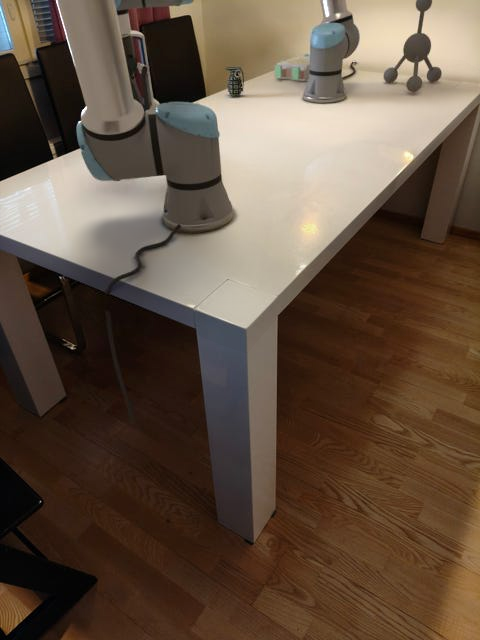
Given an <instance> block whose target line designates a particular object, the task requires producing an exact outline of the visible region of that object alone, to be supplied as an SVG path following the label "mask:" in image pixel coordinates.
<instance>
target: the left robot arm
mask: <svg viewBox="0 0 480 640" xmlns="http://www.w3.org/2000/svg"><path fill="white" fill-rule="evenodd" d="M55 1H56V5H57V8H58V12H59V16H60V19H61V23H62V26H63V30H64V34H65V37H66V40H67V44H68V48H69V51H70V54H71V58H72V61H73V65H74V68H75V72H76V75H77V79H78V83H79V86H80V89H81V93H82V97H83V101H84V104H85V107H84V109H82V111H81V114H80V120H79V121H78V122H77V124H76V137H77V143H78V146H79V148H80V154H81V157H82V159H83V162H84V164H85V166H86V168H87V170H88V171H89V173H90V175H91V176H92V177H93V178H94V179H96V180H98V181H101V182H121V181H123V180H135V179H142V178H152V177H160V176H161V177H163V176H165V180H166V190H165V191H166V192H165V196H164V203H163V207H162V218H163V222H164V224H165V226H167V227H168V228H169V229H171V230H172V231H171V232H170V234H169V235H168V236H167V237H166V238H165V239H164V240H162V241H159V242H156V243H152V244H149V245H145V246H142V247H140V248H139V249H137V251H136V252H135V255H134V259H135V262H136V263H137V265H136V268H134V269H133V270H131V271H127V272H126V273H122V274H120V275H117V276H116V277H114V279H112V280H111V281H110V282H109V284H108V285H107V287H106V290H105V292H104V294H105V295H108V294H110V292H111V290H112V288H113V287H114V285H116V283H118V282H119V281H121V280H124V279H126V278H129V277H131V276H133V275H136V274H138V273H139V272H140V270H141V269H142V260H141V258H140V255H141V254H142V253H143V252H145V251H148V250H151V249H154V248H159V247H162V246H165V245H166V244H168V243H169V242H170V241H171V240H172V239H173V238H174V235H176V233H177V232H180V233H190V234H191V233H192V234H193V233H194V234H195V233H196V234H197V233H205V232H206V233H207V232H210V231H215V230H216V229H220V228H222V227H224V226H226V225H227V224H228V223H230V221H231V220H232V218H233V216H234V212H233V211H234V210H233V204H232V201H231V200H230V197H229V195H228V192H227V190H226V187H225V184H224V182H223V175H222V174H223V173H222V164H221V150H220V139H219V138H220V136H221V135H220V130H219V125H218V118H217V115H216V113H215V111H214V110H213V109H212V108H210V107H209V106H206V105H203V104H199V103H196V102H189V101H168V102H163V103H159V104H160V105H158V106H157V108H156V111H155V112H156V114H149V115H146V110H149V109H150V108H151V107H152V101H151V94H150V86H149V78H148V73H149V72H150V65H149V63H148V64H146V65H144V64H142V62H139V60H138V59H137V56H136V51H135V46H134V39H132V37H131V36H130V35H129V34H130V33H131V30H132V28H131V27H132V26H131V21H130V20H131V19H130V15H129V10H132V9H133V10H134V9H144V8H160V7H161V8H163V7H180V6H184V5H191V4H192V3H194V1H195V0H55ZM137 69H138V73H139V74H140V81H141V89H142V94H141V92H140V89H139V86H138V83H137V78H136V76H135V73H136V71H137ZM142 96H143V97H142ZM133 98H134V99H133ZM142 99H144V102H143V100H142ZM144 103H145V105H144ZM104 312H105V317H106V327H107V334H108V340H109V346H110V351H111V356H112V360H113V365H114V368H115V372H116V375H117V379H118V383H119V386H120V389H121V392H122V395H123V398H124V401H125V405H126V408H127V411H128V415H129V419H130V423H131V424H132V425H135V424H136V422H135V417H134V413H133V410H132V406H131V402H130V399H129V396H128V393H127V389H126V386H125V383H124V379H123V376H122V373H121V369H120V364H119V361H118V358H117V352H116V348H115V347H116V346H115V341H114V335H113V328H112V318H111V312H110V310H104Z"/></svg>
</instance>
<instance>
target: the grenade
mask: <svg viewBox="0 0 480 640" xmlns="http://www.w3.org/2000/svg"><path fill="white" fill-rule="evenodd" d="M225 71H226V72H229V73H230V75H228V77H227V79H228V80H227V92H228V94H229V95H230V96H231V97H233V98H237V97H240V95H241V94H242V93H244V87H245V85H244V84H245V75H244V70H243V69H242V67H241V66H227V67H225Z"/></svg>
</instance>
